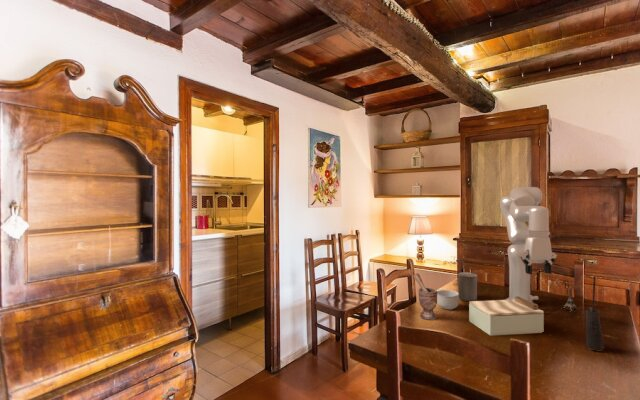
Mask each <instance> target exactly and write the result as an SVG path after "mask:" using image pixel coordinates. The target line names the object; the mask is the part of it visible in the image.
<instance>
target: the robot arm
mask: <svg viewBox="0 0 640 400" xmlns="http://www.w3.org/2000/svg"><path fill="white" fill-rule="evenodd" d="M542 200H543V192H542V190H541V189H540V188H539V187H537V186H522V187H521V186H520V187H514V188H513V189H511V191H510V193H509V195H506V196H503V197H501V198H500V199H499V207H500V209H499V210H500V212H501V215H502V216H503V219H504V221H505V223H506V230H507V237H508V241H509V242H510V243H512V244H511V245H509V246H508V247H507V256H508V257H507V258H508V267H509V272H508V273H509V279H508V281H509V283H508V284H509V287H508V288H509V289H508V290H509V292H508V293H509V294H508V295H509V296H508V297H507V298H505V300H514V299H515V297H521V298H523V299H525V300H528V301H530V302H532V303H534V300H535V301H537V300H539V296H538V295H531V275H532V274H533V266H532V264H543V263H544V265H543V267H544V268H543V271H544V273H546V274H549V275H551V273H552V265H553V263H554V262H555V260H556V258H557V257H558V255H557V253H556V252H553V251H552V243H551V239H550V237H549V236H550V235H551V231H550V230H549V227H550V226H549V224H550V220H549V219H550V218H549V215H550V212H549V211H550V209H549V208H548V207H546V206H543V205H539V204H540V203H541V202H542ZM524 222H525V223H526V222H527V223H528V226H526V225H525V223H524Z"/></svg>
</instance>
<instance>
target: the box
mask: <svg viewBox="0 0 640 400" xmlns="http://www.w3.org/2000/svg"><path fill="white" fill-rule="evenodd" d="M468 308H469V310H468V321H469V322H470V323H471V324H473V325H474V326H476V327H477V328H479V329H480V330H482V331H483V332H484V333H485V334H487V335H489V336H490V337H491V336H508V335H524V334H540V333H541V334H543V333H542V332H544V331H545V330H544V327H545V326H544V325H545V321H544V320H545V318H544V317H545V314H544V313H537V314H516V315H496V316H490V315H488V314H487V313H485V312H483V311H482V310H480V309H478V308H477V307H475V306H473V305H471V304H470V303H469V304H468ZM544 333H545V332H544Z"/></svg>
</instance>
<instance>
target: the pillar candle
mask: <svg viewBox="0 0 640 400" xmlns="http://www.w3.org/2000/svg"><path fill="white" fill-rule="evenodd" d="M457 280H458V281H457V282H458V283H457V285H458V286H457V289H458V291H457V292H458V293H459V300H461V301H463V302H469V301H478V274H476V273H472V272H467V271H466V272H458V276H457Z"/></svg>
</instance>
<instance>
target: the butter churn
mask: <svg viewBox="0 0 640 400" xmlns="http://www.w3.org/2000/svg"><path fill="white" fill-rule="evenodd" d="M592 282H593V283H592V284H593V285H592V306H589V307H588V308H587V310H585V330H586V332H585V333H586V334H585V337H586V340H585V341H586V345H587V347H589V348H591V349H595V350H603V349H604V350H605V347H604V340H603V339H604V338H603V333H602V323H601V316H600V310H597V309H595V297H596V296H595V294H596V292H595V291H596V276H594V275H593V281H592ZM587 347H586V348H587Z"/></svg>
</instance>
